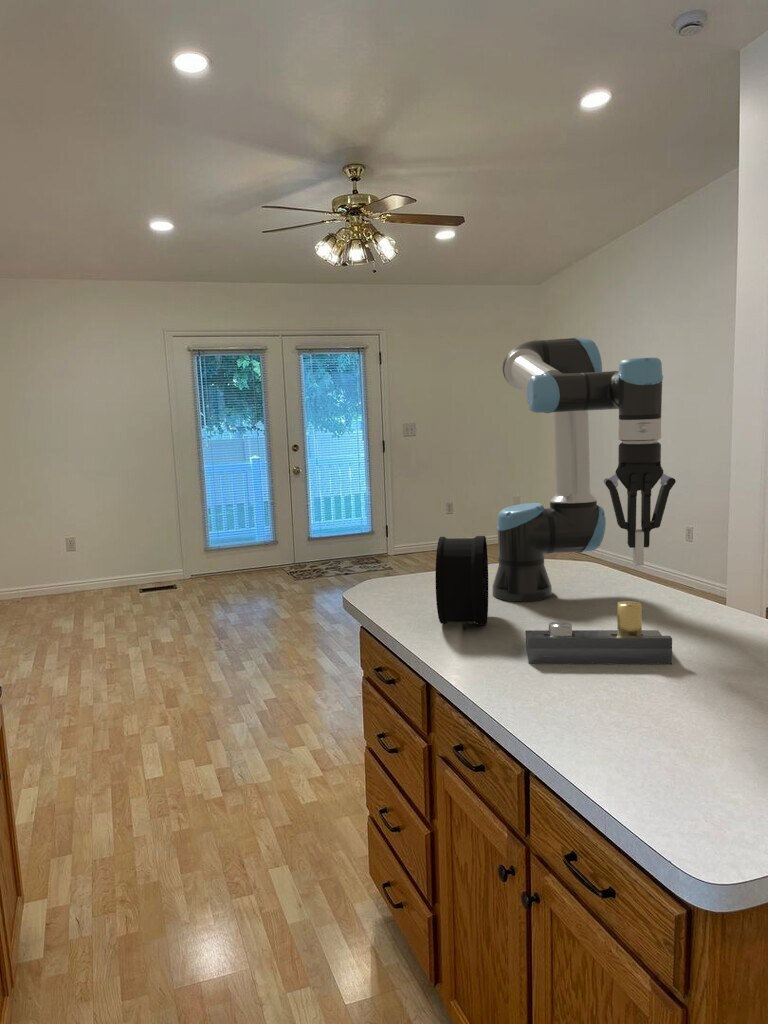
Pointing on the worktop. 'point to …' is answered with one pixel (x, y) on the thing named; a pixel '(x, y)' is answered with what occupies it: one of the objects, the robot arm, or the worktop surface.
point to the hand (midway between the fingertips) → (638, 563)
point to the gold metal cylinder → (629, 618)
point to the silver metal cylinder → (560, 628)
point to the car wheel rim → (462, 580)
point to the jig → (598, 648)
